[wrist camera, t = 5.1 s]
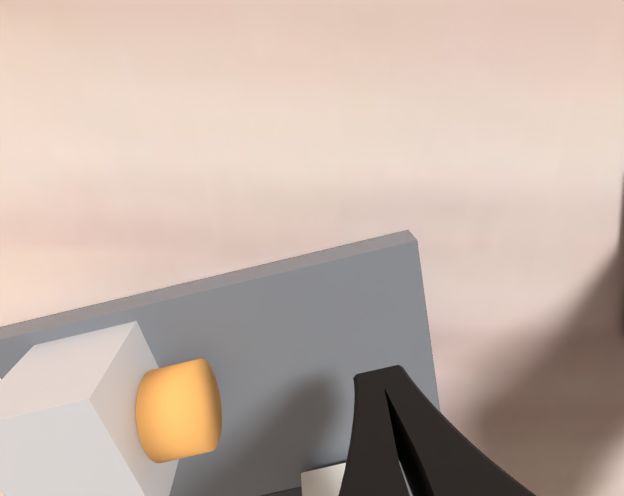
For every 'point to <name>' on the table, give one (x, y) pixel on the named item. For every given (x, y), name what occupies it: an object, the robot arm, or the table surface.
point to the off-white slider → (323, 481)
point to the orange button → (179, 411)
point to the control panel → (227, 369)
